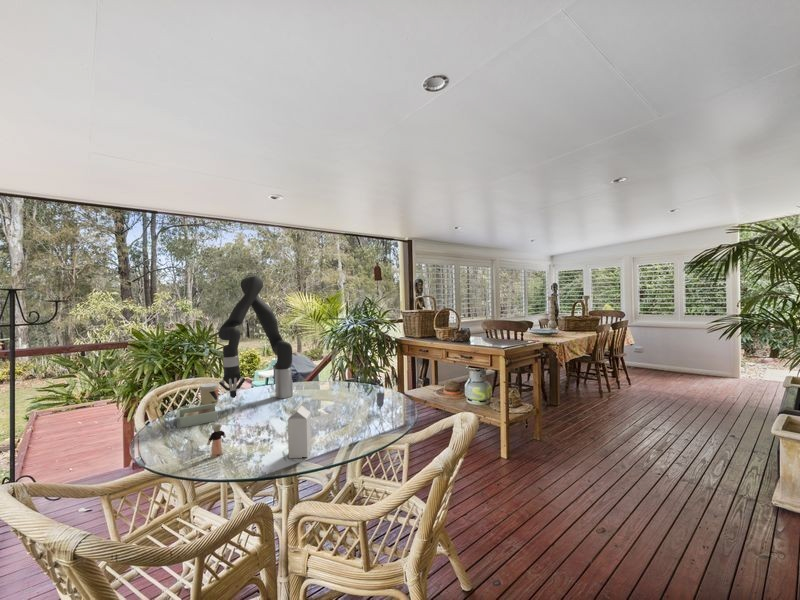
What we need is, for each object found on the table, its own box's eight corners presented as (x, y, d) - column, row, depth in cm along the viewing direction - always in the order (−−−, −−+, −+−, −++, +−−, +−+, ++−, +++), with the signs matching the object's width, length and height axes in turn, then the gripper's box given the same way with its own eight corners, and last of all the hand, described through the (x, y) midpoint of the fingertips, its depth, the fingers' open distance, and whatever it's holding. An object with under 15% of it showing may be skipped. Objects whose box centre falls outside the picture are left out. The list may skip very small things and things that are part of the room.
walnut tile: (212, 413, 185) (212, 408, 185) (211, 417, 180) (211, 411, 179) (199, 415, 182) (199, 410, 182) (198, 419, 177) (198, 413, 177)
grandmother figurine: (214, 459, 133) (213, 426, 133) (206, 458, 134) (204, 425, 134) (229, 450, 141) (228, 419, 140) (221, 449, 142) (220, 418, 141)
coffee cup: (213, 408, 192) (212, 387, 192) (196, 409, 192) (195, 387, 192) (222, 403, 201) (221, 382, 201) (206, 403, 202) (205, 382, 201)
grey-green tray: (214, 411, 187) (214, 403, 187) (217, 420, 174) (217, 411, 174) (177, 418, 178) (176, 409, 178) (177, 428, 165) (176, 418, 165)
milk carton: (311, 449, 140) (310, 402, 140) (307, 458, 133) (306, 408, 133) (293, 450, 140) (292, 402, 140) (288, 458, 133) (287, 408, 132)
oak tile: (198, 417, 180) (198, 411, 180) (197, 421, 175) (197, 415, 175) (185, 419, 178) (185, 413, 178) (183, 423, 172) (183, 417, 172)
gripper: (243, 361, 190) (245, 393, 191) (216, 365, 183) (218, 398, 184) (246, 364, 184) (248, 396, 185) (218, 368, 177) (220, 402, 178)
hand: (233, 397), depth 184 cm, fingers closed
